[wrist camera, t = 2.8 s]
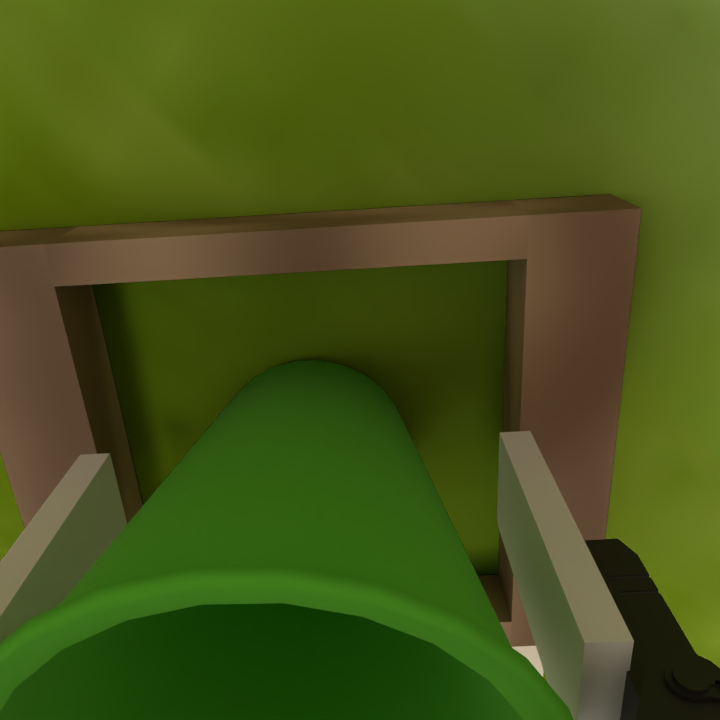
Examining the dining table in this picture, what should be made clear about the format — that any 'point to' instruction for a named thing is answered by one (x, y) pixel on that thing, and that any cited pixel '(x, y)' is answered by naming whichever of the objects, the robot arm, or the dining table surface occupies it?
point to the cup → (281, 583)
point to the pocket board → (324, 253)
